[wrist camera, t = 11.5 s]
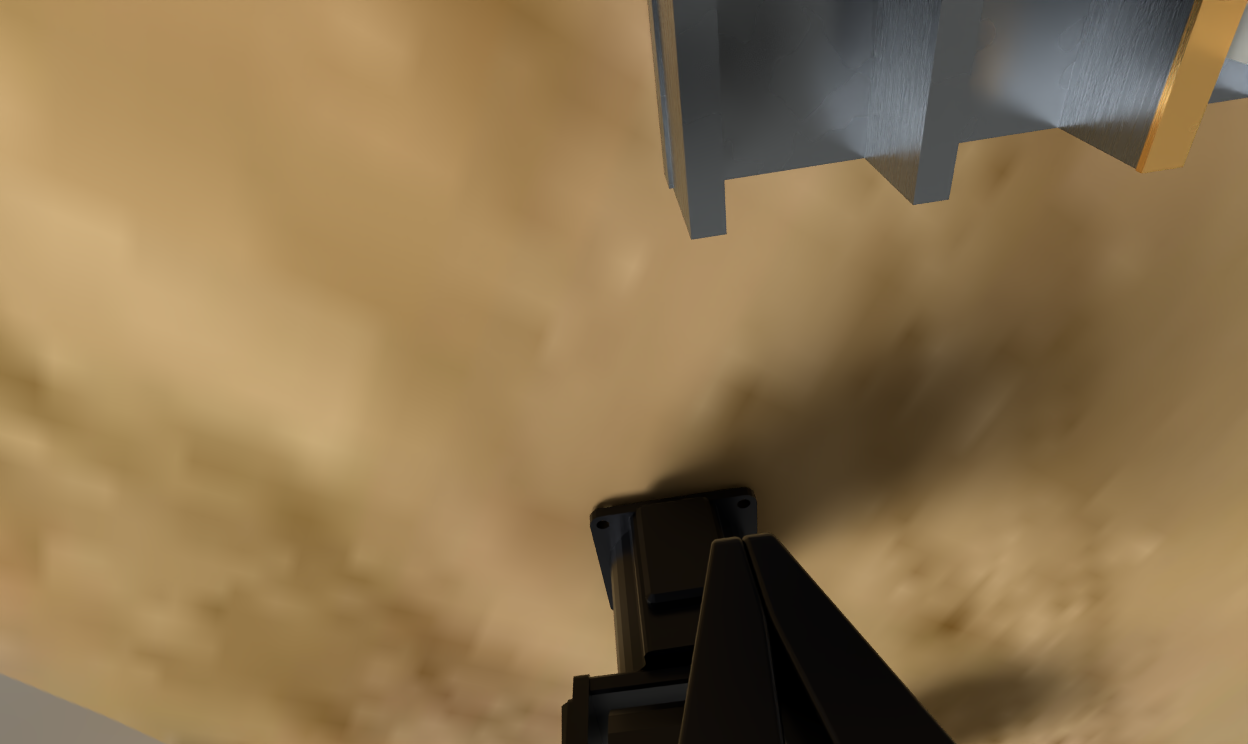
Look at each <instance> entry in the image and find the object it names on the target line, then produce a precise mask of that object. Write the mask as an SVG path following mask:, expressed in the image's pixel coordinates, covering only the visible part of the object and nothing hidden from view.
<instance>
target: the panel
mask: <svg viewBox="0 0 1248 744" xmlns="http://www.w3.org/2000/svg"><path fill="white" fill-rule="evenodd" d="M1226 58H1228V59H1232V60H1235V61H1238V62H1242V63H1245V64H1248V2H1247V4H1246V7H1245V10H1244V12H1243V15H1242V17H1241V20H1240V22H1239V25H1238V27H1237V30H1236V33H1235V35H1234V38H1233V40H1232V43H1231V45H1230V48H1229V51H1228V53H1227V56H1226Z"/></svg>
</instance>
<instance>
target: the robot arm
mask: <svg viewBox="0 0 1248 744" xmlns="http://www.w3.org/2000/svg"><path fill="white" fill-rule="evenodd" d="M743 499H745V500H743ZM740 500H742V501H740ZM602 520H603V521H602ZM590 528H591V532H592V536H593V540H594V544H595V548H596V552H597V556H598V560H599V564H600V567H601V571H602V575H603V579H604V583H605V587H606V591H607V595H608V599H609V603H610V607H611V609H612V610H614V624H615V638H616V652H617V665H618V674H610V675H602V676H594V677H590V675H589V674H588V675H580V676H574V678H573V698H572V699H570V700H568V702H567V703H565V704H564V705H563V706H562V744H956V743H955V742H954V741H953V740H952V738H951V737H950V736H949V735H948V734H947V733H946V731H945V730H944V729H943V728H942V727H941V726H940V725H939V723H938V722H937V721H936V720H935V719H934V718H933V717H932V715H931V714H930V713H929V712H928V711H927V710H926V709H925V707H924V706H923V705H922V704H921V703H920V702H919V701H918V699H917V698H916V697H915V696H914V695H913V694H912V692H911V691H910V690H909V689H908V688H907V687H906V686H905V684H904V683H903V682H902V681H901V680H900V679H899V678H898V676H897V675H896V674H895V673H894V672H893V671H892V670H891V668H890V667H889V666H888V665H887V664H886V663H885V661H884V660H883V659H882V658H881V657H880V656H879V655H878V653H877V652H876V651H875V650H874V649H873V648H872V647H871V645H870V644H869V643H868V642H867V641H866V640H865V639H864V637H863V636H862V635H861V634H860V633H859V632H858V631H857V629H856V628H855V627H854V626H853V625H852V624H851V622H850V621H849V620H848V619H847V618H846V617H845V616H844V614H843V613H842V612H841V611H840V610H839V609H838V608H837V606H836V605H835V604H834V603H833V602H832V601H831V600H830V598H829V597H828V596H827V595H826V594H825V593H824V591H823V590H822V589H821V588H820V587H819V586H818V585H817V583H816V582H815V581H814V580H813V579H812V578H811V577H810V575H809V574H808V573H807V572H806V571H805V570H804V569H803V567H802V566H801V565H800V564H799V563H798V562H797V561H796V559H795V558H794V557H793V556H792V555H791V554H790V552H789V551H788V550H787V549H786V548H785V547H784V546H783V544H782V543H781V542H780V541H779V540H778V539H777V538H776V537H775V536H774V535H773V534H771V533H759V534H757V501H756V498H755V495H754V492H753V490H751V489H750V488H747V487H741V488H734V489H727V490H721V491H714V492H707V493H701V494H694V495H687V496H680V497H674V498H667V499H660V500H654V501H647V502H640V503H633V504H627V505H620V506H613V507H607V508H600V509H597V510H595V511H593V512H592V513H591V515H590Z"/></svg>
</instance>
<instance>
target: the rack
mask: <svg viewBox="0 0 1248 744" xmlns="http://www.w3.org/2000/svg"><path fill="white" fill-rule="evenodd" d="M1247 2H1248V0H648V11H649V21H650V31H651V41H652V51H653V62H654V72H655V82H656V92H657V102H658V113H659V123H660V133H661V143H662V153H663V164H664V174H665V177H666V180H667V183H668V186H669V189H671V188H673V189H674V192H675V195H676V198H677V200H678V203H679V206H680V209H681V212H682V215H683V218H684V220H685V223H686V226H687V229H688V232H689V235H690V238H691V240H692V239H698V238H705V237H711V236H718V235H724V234H726V210H725V186H724V180H728V179H734V178H740V177H747V176H753V175H759V174H766V173H772V172H778V171H785V170H791V169H797V168H804V167H810V166H816V165H823V164H829V163H835V162H842V161H848V160H854V159H861V158H865V159H866V160H867V161H868V162H869V163H870V164H871V165H872V166H873V167H874V168H875V169H876V170H877V171H878V172H879V173H880V174H882V175H883V176H884V177H885V178H886V179H887V180H888V181H889V182H890V183H891V184H892V185H893V186H894V187H895V188H896V189H897V190H898V191H899V192H900V193H901V194H902V195H903V196H904V197H905V198H906V199H907V200H908V201H909V202H910V203H912V204H913V205H916V204H922V203H929V202H935V201H942V200H948V199H949V195H950V190H951V184H952V178H953V173H954V167H955V161H956V155H957V150H958V144H959V143H962V142H968V141H975V140H981V139H987V138H994V137H1000V136H1006V135H1013V134H1019V133H1025V132H1032V131H1038V130H1044V129H1051V128H1057V127H1058V128H1060V129H1062V130H1064V131H1065V132H1067V133H1069V134H1071V135H1073V136H1075V137H1077V138H1079V139H1081V140H1082V141H1084V142H1086V143H1088V144H1090V145H1092V146H1094V147H1096V148H1098V149H1099V150H1101V151H1103V152H1105V153H1107V154H1109V155H1111V156H1113V157H1114V158H1116V159H1118V160H1120V161H1122V162H1124V163H1126V164H1128V165H1130V166H1131V167H1133V168H1135V169H1136V171H1138V172H1140V173H1148V172H1155V171H1161V170H1168V169H1174V168H1180V167H1183V166H1184V163H1185V161H1186V158H1187V155H1188V153H1189V150H1190V148H1191V145H1192V143H1193V140H1194V138H1195V135H1196V132H1197V130H1198V127H1199V125H1200V122H1201V120H1202V117H1203V114H1204V112H1205V109H1206V107H1207V104H1209V103H1215V102H1222V101H1228V100H1234V99H1241V98H1247V97H1248V64H1245V63H1242V62H1238V61H1235V60H1232V59H1228V58H1226V56H1227V53H1228V51H1229V48H1230V45H1231V43H1232V40H1233V38H1234V35H1235V33H1236V30H1237V27H1238V25H1239V22H1240V20H1241V17H1242V15H1243V12H1244V10H1245V7H1246V4H1247Z"/></svg>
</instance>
